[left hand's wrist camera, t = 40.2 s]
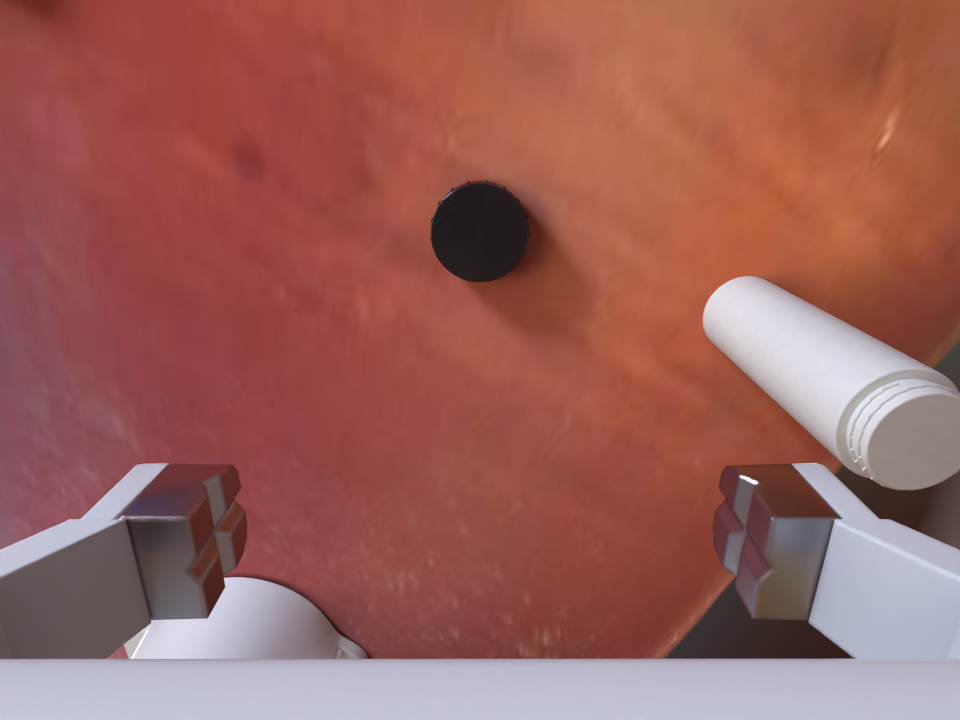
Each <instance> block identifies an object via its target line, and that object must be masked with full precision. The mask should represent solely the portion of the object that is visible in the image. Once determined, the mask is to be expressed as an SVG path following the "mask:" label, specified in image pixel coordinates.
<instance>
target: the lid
mask: <svg viewBox="0 0 960 720" xmlns="http://www.w3.org/2000/svg"><path fill="white" fill-rule="evenodd" d="M438 205H439V206H438V207H437V209H436V212H435V214H434V216H433V218H432V220H431V222H432V224H431V238H430V239H431V241H432V246H433V249H434V252H435V254H436V257H437V258H438V259H439V261H440V262H441V264H442V265H443V266H444V267H445V268H446V269H447V270H448V271H449V272H451V273H452V274H454V275H455V276H457V277H459V278H461V279H464V280H467V281H472V282H487V281H492V280H495V279H498V278H500V277H502V276H504V275H506V274H507V273H509V272H510V271H511V270H512V269H513V268H514V267H515V266H516V265H517V264H518V263H519V261H520V260H521V258H522V257H523V255H524V254H525V250H526V247H527V243H528V237H529V228H528V222H527V218H528V217H527V215H526V214H525V213H524V211H523V209H522V207H521V205H520V203H519V199H518V198H517V199H516V198H515V197H514V196H513V195H512V194H511V193H510V192H509V191H508V190H506V188H505V187H504V186H503V187H501V186H499V185H497V184H494V183H491V182H488V180H486V181H473V182H470V181H468V183H465V184H462V185H460V186H458V187H456V188H455V189H453V188H452V189H451V191H450V192H449V193H448V194H447V195H446V196H445V197H444V198H443V200H442V201H439V203H438Z"/></svg>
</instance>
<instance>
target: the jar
mask: <svg viewBox="0 0 960 720" xmlns="http://www.w3.org/2000/svg"><path fill="white" fill-rule="evenodd" d="M703 326H704V330H705V333H706V335H707V337H708V338H709V340H710V341H711V342H712V343H713V344H714V345H715V346H716V347H717V348H718V349H719V350H721V351H722V352H723V353H724V354H725V355H726V356H727V357H728V358H729V359H730V360H731V361H732V362H733V363H735V364H736V365H737V366H738V367H739V368H740V369H741V370H742V371H743V372H744V373H745V374H746V375H747V376H749V377H750V378H751V379H752V380H753V381H754V382H755V383H756V384H757V385H758V386H759V387H760V388H762V389H763V390H764V391H765V392H766V393H767V394H768V395H769V396H770V397H771V398H772V399H773V400H774V401H776V402H777V403H778V404H779V405H780V406H781V407H782V408H783V409H784V410H785V411H786V412H787V413H789V414H790V415H791V416H792V417H793V418H794V419H795V420H796V421H797V422H798V423H799V424H800V425H801V426H803V427H804V428H805V429H806V430H807V431H808V432H809V433H810V434H811V435H812V436H813V437H814V438H815V439H817V440H818V441H819V442H820V443H821V444H822V445H823V446H824V447H825V448H826V449H827V450H828V451H830V452H831V453H832V454H833V455H834V456H835V457H836V458H837V459H838V460H839V461H840V462H841V463H842V464H844V465H845V466H846V467H847V468H848V469H849V470H851V471H852V472H854V473H856V474H858V475H861V476H863V477H866V478H870V479H872V480H873V481H875V482H877V483H878V484H880V485H882V486H884V487H888V488H892V489H895V490H917V489H923V488H928V487H930V486H933V485H936V484H938V483H940V482H943V481H944V480H946V479H947V478H949V477H950V476H952V475H953V474H956V473H957V472H958V471H959V470H960V393H959V391H958V389H957V388H956V386H955V385H954V384H953V383H952V381H951V380H950V379H948V378H947V377H946V376H945V375H943V374H941V373H939V372H937V371H935V370H934V369H932V368H930V367H928V366H926V365H924V364H922V363H920V362H919V361H917V360H915V359H913V358H911V357H909V356H907V355H905V354H904V353H902V352H900V351H898V350H896V349H894V348H892V347H890V346H889V345H887V344H885V343H883V342H881V341H879V340H877V339H875V338H874V337H872V336H870V335H868V334H866V333H864V332H862V331H860V330H859V329H857V328H855V327H853V326H851V325H849V324H847V323H845V322H844V321H842V320H840V319H838V318H836V317H834V316H832V315H830V314H829V313H827V312H825V311H823V310H821V309H819V308H817V307H815V306H814V305H812V304H810V303H808V302H806V301H804V300H802V299H800V298H798V297H797V296H795V295H793V294H791V293H789V292H787V291H785V290H783V289H782V288H780V287H778V286H776V285H774V284H772V283H770V282H768V281H767V280H765V279H762V278H759V277H753V276H745V277H739V278H736V279H733V280H731V281H728V282H727V283H725V284H723V285H722V286H721V287H719V288H718V289H717V290H716V291H715V292H714V293H713V294H712V296H711V297H710V299H709V300H708V302H707V304H706V307H705V310H704V314H703Z"/></svg>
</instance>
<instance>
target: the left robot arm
mask: <svg viewBox="0 0 960 720" xmlns="http://www.w3.org/2000/svg"><path fill="white" fill-rule="evenodd" d="M240 489H241V484H240V479H239V474H238V470H237V469H236V468H235V467H234V466H233V465H224V464H171V463H147V464H139V465H136V466H135V467H134V468H133V469H132V470H131V471H130V472H129V473H128V474H127V475H126V476H125V477H124V478H123V479H122V480H121V481H120V482H118V483H117V484H116V485H115V486H114V487H113V488H112V489H111V490H110V491H109V492H108V493H107V494H106V495H105V496H104V497H103V498H102V499H101V500H100V501H99V502H98V503H97V504H96V505H95V506H94V507H93V508H92V509H91V510H90V511H89V512H88V513H86V514H85V515H84V516H83V517H82V518H81V519H70V520H68V521H66V522H63V523H61V524H59V525H56V526H54V527H52V528H49V529H47V530H45V531H43V532H40V533H38V534H36V535H33V536H31V537H29V538H26V539H24V540H22V541H19V542H17V543H15V544H13V545H10V546H8V547H6V548H3V549H1V550H0V720H960V550H959V549H956V548H954V547H952V546H950V545H947V544H945V543H943V542H940V541H938V540H936V539H933V538H931V537H929V536H927V535H924V534H922V533H920V532H917V531H915V530H913V529H911V528H908V527H906V526H904V525H901V524H899V523H897V522H894V521H892V520H890V519H879V518H878V517H877V516H876V515H875V514H874V513H873V512H872V511H870V510H869V509H868V508H867V507H866V506H865V505H864V504H863V503H862V502H861V501H860V500H859V499H858V498H857V497H856V496H855V495H854V494H853V493H852V492H851V491H850V490H849V489H848V488H847V487H846V486H845V485H844V484H843V483H842V482H841V481H840V480H839V479H837V477H836V476H834V475H833V474H832V473H831V472H830V471H829V470H828V469H827V468H826V467H825V466H824V465H821V464H818V463H800V464H763V465H730V466H725V467H724V470H723V472H722V474H721V478H720V483H719V489H720V491H721V492H722V494H723V495H724V497H725V498H726V500H725V501H724V502H723V503H722V504H721V505H720V506H719V507H718V508H717V509H716V510H715V513H714V521H713V537H714V546H715V549H716V552H717V555H718V558H719V559H720V561H721V563H722V565H723V567H724V568H725V569H727V570H728V571H730V572H732V573H733V574H735V575H736V576H737V577H736V583H735V589H736V590H737V592H738V594H739V596H740V598H741V599H742V601H743V603H744V605H745V606H746V608H747V610H748V612H749V614H750V615H751V617H752V618H753V619H785V620H809V623H810V624H811V625H812V626H813V627H815V628H816V629H817V630H819V631H820V632H821V633H822V634H824V635H825V636H826V637H828V638H829V639H830V640H831V641H833V642H834V643H835V644H837V645H838V646H839V647H840V648H842V649H843V650H844V651H846V652H847V653H848V654H849V655H851V656H852V657H853V658H855V659H368V657H367V654H366V652H365V651H364V650H363V649H362V648H360V647H359V646H358V645H356V644H355V643H353V642H352V641H350V640H348V639H347V638H345V637H343V636H342V635H340V634H339V633H338V632H337V631H336V630H335V629H334V627H333V626H332V625H331V623H330V622H329V621H328V620H327V618H326V617H325V616H324V615H323V613H322V612H321V611H320V610H319V609H318V608H317V607H316V606H314V605H313V604H312V603H311V602H309V601H308V600H307V599H305V598H304V597H302V596H301V595H299V594H297V593H296V592H294V591H292V590H290V589H288V588H285V587H283V586H280V585H278V584H275V583H271V582H268V581H264V580H259V579H253V578H244V577H227V578H224V577H223V576H224V575H225V574H227V573H228V572H230V571H232V570H233V569H235V568H236V567H237V565H238V563H239V561H240V559H241V557H242V555H243V552H244V548H245V544H246V539H247V519H246V513H245V510H244V509H243V508H242V507H241V506H240V505H239V504H238V503H237V502H236V501H235V500H234V498H235V497H236V495H237V494H238V492H239V491H240ZM124 644H125V649H126V652H127V654H128V657H129V659H106V658H107V657H108V656H109V655H111V654H112V653H113V652H115V651H116V650H117V649H118V648H120V647H121V646H122V645H124Z"/></svg>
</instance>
